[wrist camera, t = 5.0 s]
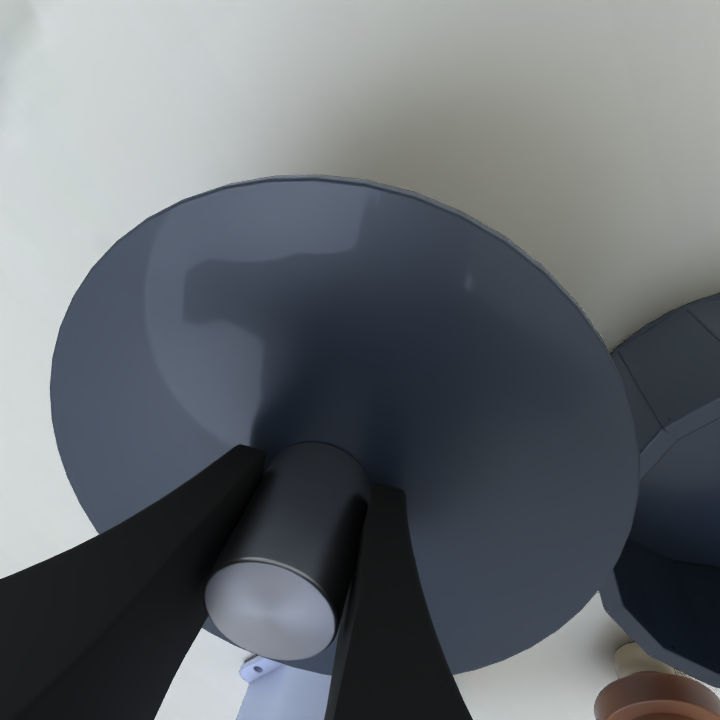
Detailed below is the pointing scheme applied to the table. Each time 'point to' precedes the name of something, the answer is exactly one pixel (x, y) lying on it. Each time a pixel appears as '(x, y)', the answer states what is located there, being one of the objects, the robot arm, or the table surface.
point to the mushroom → (652, 691)
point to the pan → (674, 492)
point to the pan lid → (353, 409)
